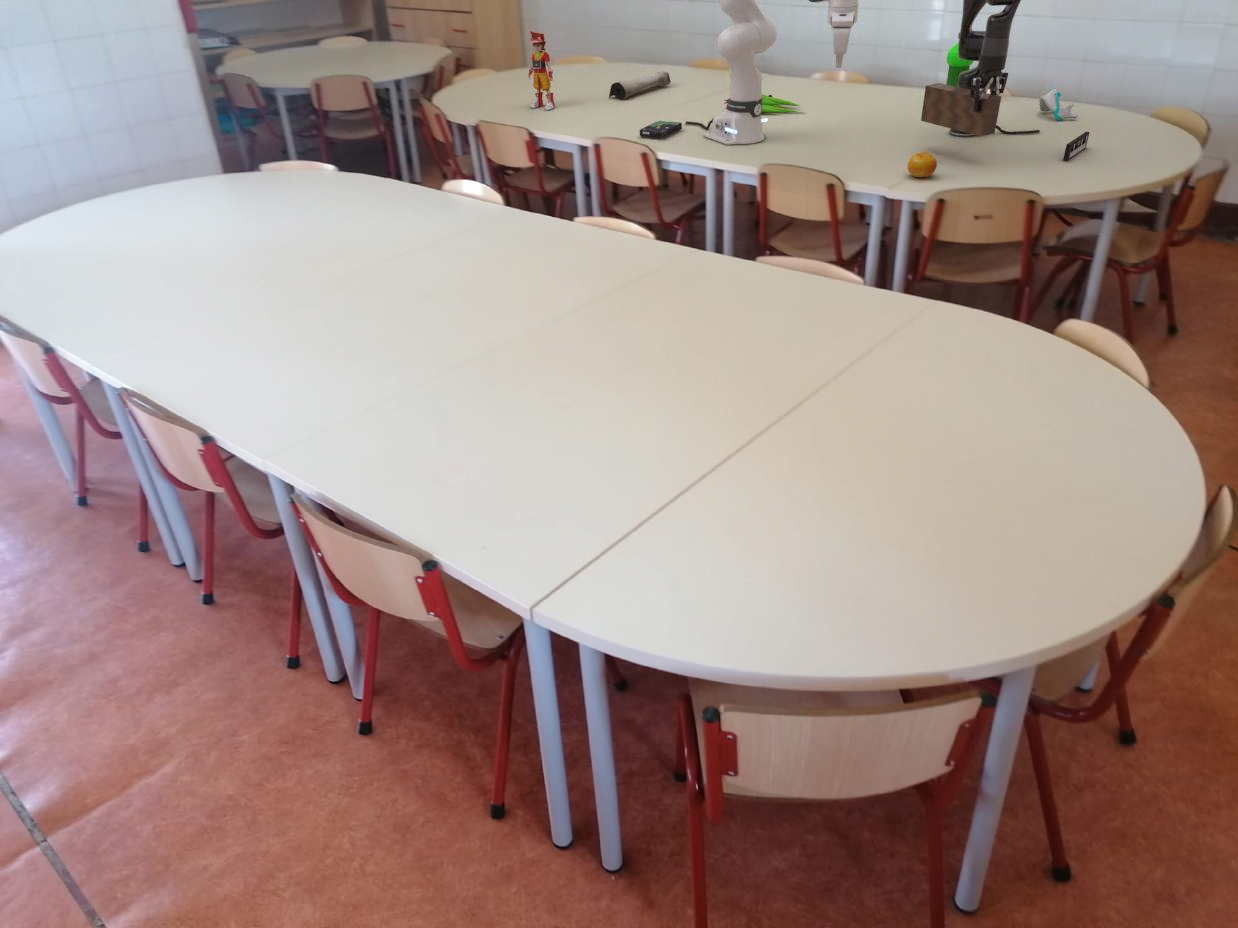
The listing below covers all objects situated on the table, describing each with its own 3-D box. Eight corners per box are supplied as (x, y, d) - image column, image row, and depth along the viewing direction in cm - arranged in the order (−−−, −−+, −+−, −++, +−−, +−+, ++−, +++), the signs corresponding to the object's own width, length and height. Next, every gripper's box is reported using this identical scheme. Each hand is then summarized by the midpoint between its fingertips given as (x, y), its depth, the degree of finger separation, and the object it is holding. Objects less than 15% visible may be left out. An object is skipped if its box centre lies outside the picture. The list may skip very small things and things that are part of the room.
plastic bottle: (973, 101, 354) (984, 32, 339) (955, 106, 349) (966, 36, 335) (952, 97, 361) (962, 29, 346) (934, 102, 356) (944, 33, 342)
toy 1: (525, 109, 381) (517, 32, 364) (534, 104, 388) (527, 28, 371) (550, 110, 377) (543, 32, 360) (559, 105, 384) (553, 28, 367)
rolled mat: (651, 76, 408) (662, 61, 399) (662, 93, 408) (674, 79, 400) (605, 92, 391) (616, 77, 383) (617, 110, 391) (628, 95, 383)
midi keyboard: (1067, 160, 287) (1070, 145, 284) (1062, 160, 288) (1066, 144, 285) (1086, 147, 297) (1090, 132, 294) (1082, 147, 298) (1085, 131, 295)
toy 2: (719, 111, 356) (789, 123, 343) (720, 98, 353) (791, 109, 341) (748, 101, 376) (815, 112, 364) (750, 88, 374) (817, 99, 361)
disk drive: (663, 140, 332) (682, 129, 342) (663, 132, 330) (682, 122, 340) (639, 137, 336) (658, 127, 346) (638, 130, 335) (658, 119, 345)
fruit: (901, 167, 279) (918, 144, 275) (903, 170, 286) (919, 147, 283) (924, 183, 277) (941, 160, 274) (925, 185, 285) (941, 162, 282)
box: (994, 133, 284) (1001, 96, 278) (981, 136, 282) (988, 99, 275) (933, 118, 302) (938, 83, 296) (920, 121, 300) (925, 85, 294)
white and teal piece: (1033, 88, 332) (1060, 81, 331) (1032, 116, 338) (1059, 109, 337) (1052, 98, 319) (1080, 90, 318) (1051, 127, 325) (1079, 119, 324)
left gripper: (832, 11, 284) (828, 58, 291) (831, 22, 267) (827, 71, 275) (852, 10, 282) (848, 57, 290) (853, 21, 266) (849, 71, 274)
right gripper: (987, 58, 266) (977, 116, 276) (1020, 51, 272) (1009, 109, 281) (967, 54, 272) (958, 112, 281) (1000, 47, 277) (990, 104, 287)
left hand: (838, 64), depth 283 cm, fingers open, 8 cm apart
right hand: (984, 110), depth 281 cm, fingers closed on box, 6 cm apart
